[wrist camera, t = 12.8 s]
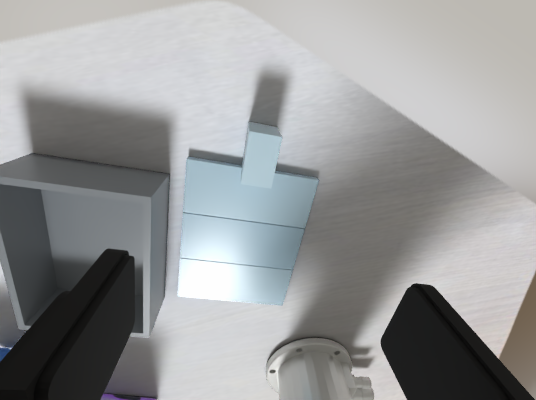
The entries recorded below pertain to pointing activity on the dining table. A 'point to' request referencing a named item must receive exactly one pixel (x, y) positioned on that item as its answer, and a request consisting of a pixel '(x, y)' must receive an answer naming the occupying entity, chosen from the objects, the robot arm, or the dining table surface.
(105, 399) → the candy box
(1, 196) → the tub
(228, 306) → the dining table surface
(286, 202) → the segmented blue block
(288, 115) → the dining table surface
